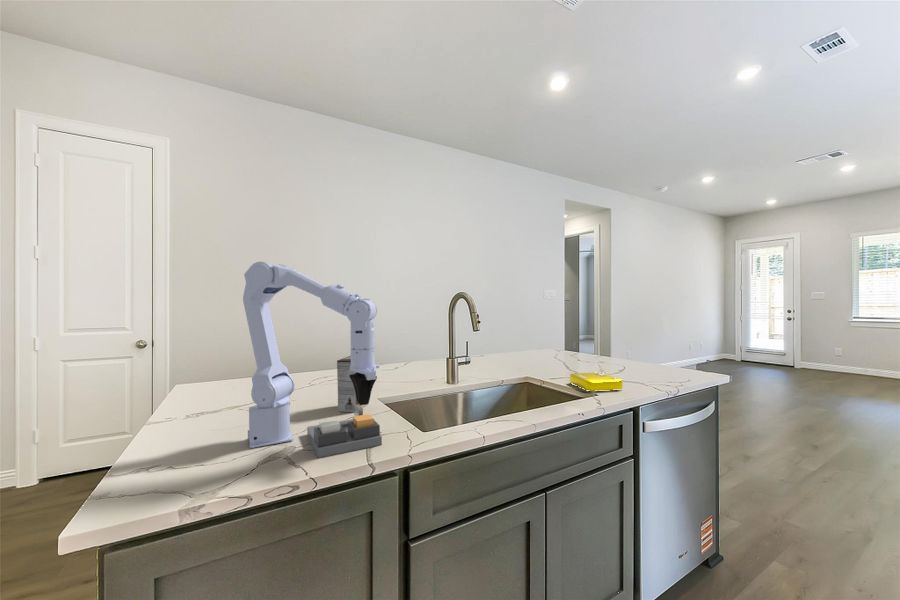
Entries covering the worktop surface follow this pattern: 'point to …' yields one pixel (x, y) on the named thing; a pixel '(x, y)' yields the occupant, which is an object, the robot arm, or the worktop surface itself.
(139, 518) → the worktop surface
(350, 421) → the panel
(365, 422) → the orange button
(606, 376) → the element tile
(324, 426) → the grey button
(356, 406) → the paddle
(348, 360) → the coffee box
